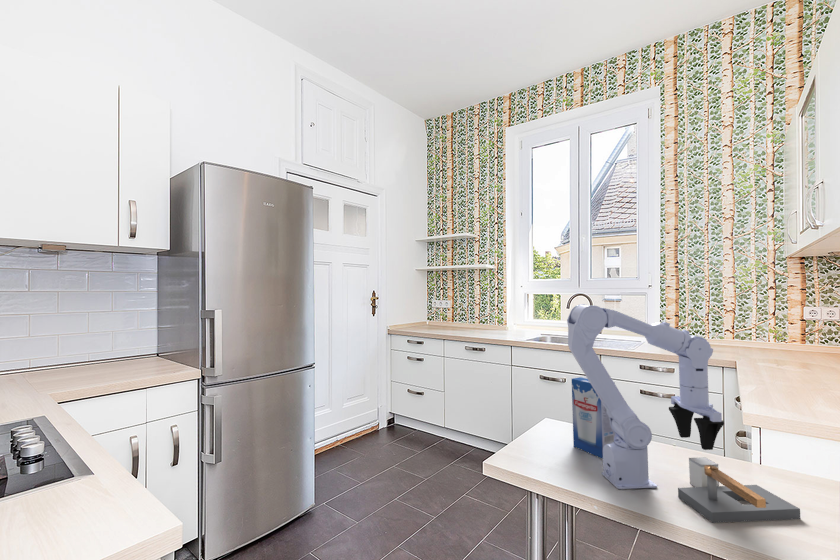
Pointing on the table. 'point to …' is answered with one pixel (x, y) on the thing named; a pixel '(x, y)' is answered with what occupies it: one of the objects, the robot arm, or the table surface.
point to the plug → (699, 471)
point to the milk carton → (589, 418)
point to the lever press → (735, 504)
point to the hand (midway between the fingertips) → (695, 442)
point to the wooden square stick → (735, 486)
